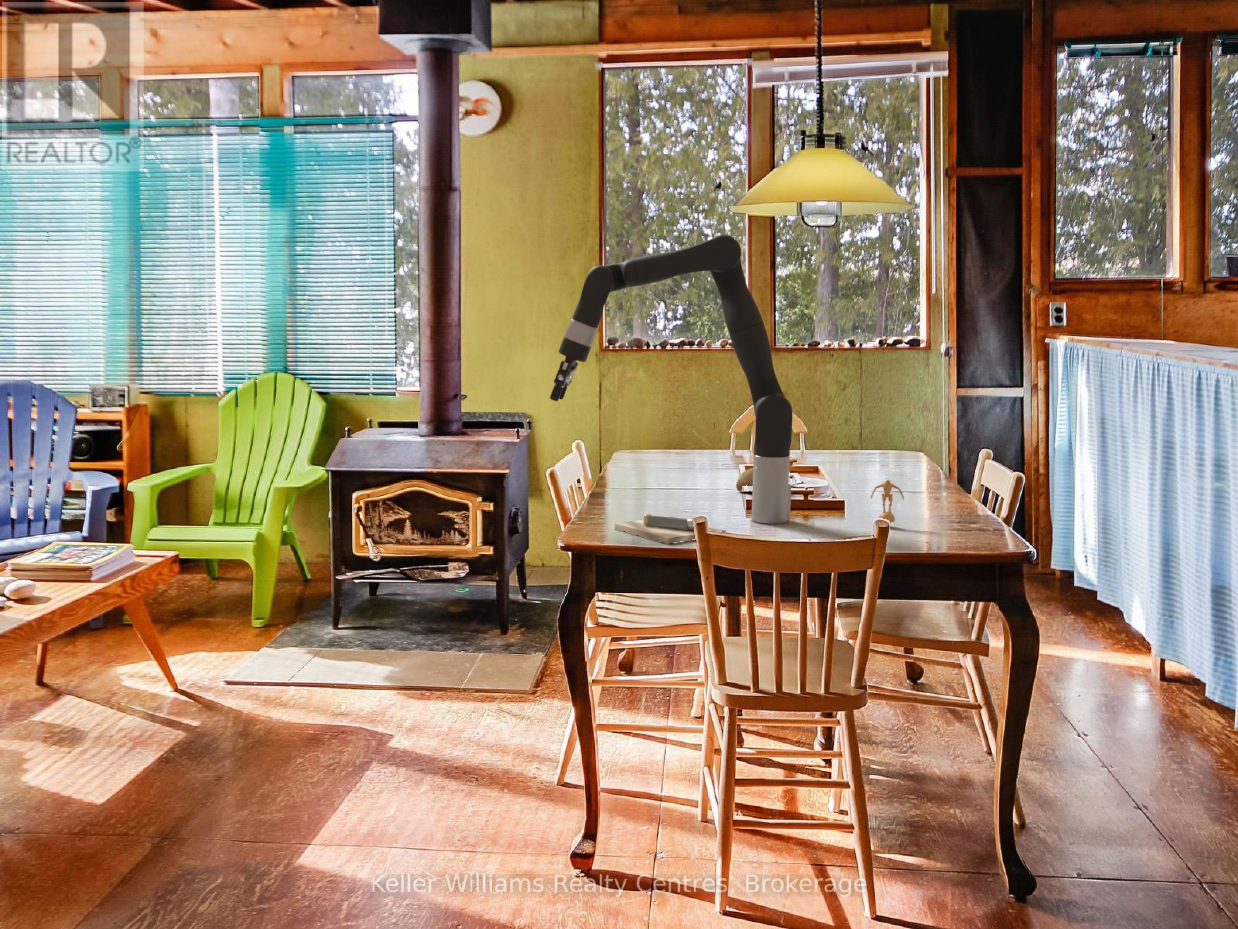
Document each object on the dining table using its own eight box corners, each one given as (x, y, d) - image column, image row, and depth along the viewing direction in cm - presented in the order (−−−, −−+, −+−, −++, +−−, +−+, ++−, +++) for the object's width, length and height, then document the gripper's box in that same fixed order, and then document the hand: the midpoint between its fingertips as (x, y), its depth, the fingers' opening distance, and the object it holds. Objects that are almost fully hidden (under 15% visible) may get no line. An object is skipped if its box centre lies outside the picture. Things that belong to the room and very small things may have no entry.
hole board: (671, 522, 285) (671, 516, 285) (725, 536, 269) (726, 529, 268) (614, 529, 275) (614, 522, 275) (667, 544, 258) (667, 537, 258)
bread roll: (788, 495, 330) (789, 469, 329) (738, 495, 330) (739, 468, 328) (782, 490, 340) (783, 464, 339) (733, 490, 339) (734, 464, 338)
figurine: (870, 527, 282) (872, 481, 281) (868, 523, 288) (870, 477, 287) (903, 529, 281) (906, 482, 280) (901, 524, 287) (903, 479, 285)
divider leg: (701, 528, 268) (701, 518, 268) (697, 530, 265) (697, 521, 265) (646, 523, 274) (646, 513, 274) (641, 525, 271) (641, 515, 271)
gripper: (588, 346, 278) (565, 406, 280) (595, 345, 292) (573, 402, 294) (560, 335, 278) (538, 395, 280) (568, 335, 292) (547, 392, 294)
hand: (556, 399), depth 287 cm, fingers open, 8 cm apart
